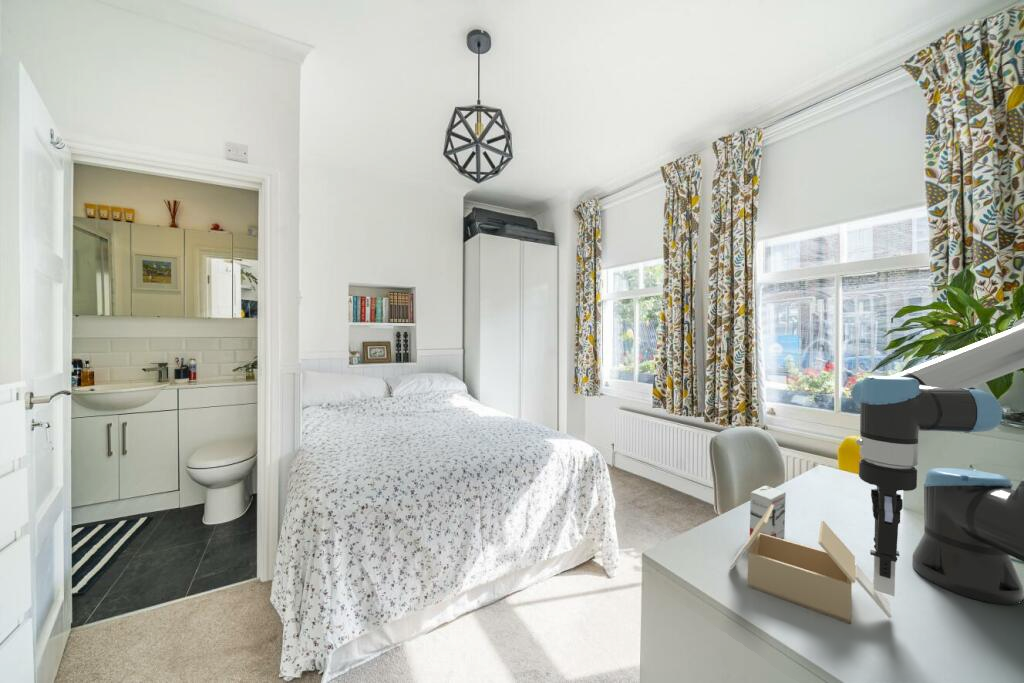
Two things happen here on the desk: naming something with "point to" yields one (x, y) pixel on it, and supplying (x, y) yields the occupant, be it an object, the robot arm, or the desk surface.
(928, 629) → the desk surface
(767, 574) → the carton
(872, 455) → the robot arm
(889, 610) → the near flap
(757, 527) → the far flap
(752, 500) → the ink box
